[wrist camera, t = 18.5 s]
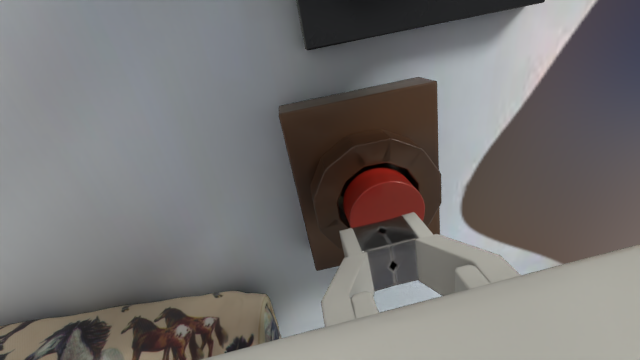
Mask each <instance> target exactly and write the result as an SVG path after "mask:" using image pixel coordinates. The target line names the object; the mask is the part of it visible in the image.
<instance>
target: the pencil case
mask: <svg viewBox="0 0 640 360" xmlns="http://www.w3.org/2000/svg"><path fill="white" fill-rule="evenodd" d="M277 339H281V334H280V332H279V327H278V323H277V320H276V317H275V314H274V311H273V308H272V304H271V301H270V298H269V297H268V295H266V294H258V293H248V294H247V293H243V292H239V291H226V292H220V293H211V294H207V295H202V296H192V297H181V298H175V299H169V300H165V301H159V302H152V303H143V304H132V305H124V306H118V307H112V308H108V309H103V310H98V311H94V312H88V313H82V314H78V315H73V316H66V317H56V318H45V319H38V320H32V321H25V322H20V323H15V324H9V325H5V326H0V360H201V359H205V358H209V357H212V356H216V355H220V354H224V353H228V352H231V351H235V350H239V349H243V348H247V347H250V346H254V345H258V344H262V343H266V342H270V341H273V340H277Z"/></svg>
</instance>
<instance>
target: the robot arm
mask: <svg viewBox="0 0 640 360" xmlns="http://www.w3.org/2000/svg"><path fill="white" fill-rule="evenodd" d="M340 238H341V242H342V247H343V251H344V256H345V258H344V259H343V261H342V263H341V264H340V266H339V268H338V270H337V272H336V274H335V276H334V278H333V280H332V282H331V283H330V285H329V287H328V289H327V291H326V293H325V295H324V297H323V299H322V300H321V306H322V312H323V318H324V324H325V327H323V328H319V329H315V330H312V331H308V332H304V333H300V334H296V335H292V336H289V337H285V338H281V339H277V340H273V341H270V342H266V343H262V344H258V345H254V346H250V347H247V348H243V349H239V350H235V351H231V352H228V353H224V354H220V355H216V356H212V357H209V358H205V359H201V360H640V244H639V245H635V246H631V247H628V248H624V249H620V250H616V251H612V252H609V253H605V254H601V255H597V256H593V257H590V258H586V259H582V260H578V261H574V262H571V263H567V264H563V265H559V266H555V267H552V268H548V269H544V270H540V271H536V272H532V273H529V274H525V275H520V274H519V273H518V272H517V271H516V270H515V269H514V268H513V267H512V266H511V265H510V264H509V263H508V262H507V261H505V260H504V259H503V258H502V257H501V256H500V255H497V254H494V253H492V252H489V251H486V250H483V249H480V248H477V247H474V246H471V245H468V244H465V243H462V242H460V241H457V240H454V239H451V238H448V237H445V236H442V235H439V234H434V235H433V233H432V232H431V231H430V230H429V229H428V227H427V226H426V225H425V224H424V223H423V221H422V220H421V219H420V218H419V217H418V215H417V214H416V213H414V212H412V213H408V214H405V215H401V216H399V217H395V218H391V219H387V220H384V221H380V222H375V223H370V224H366V225H362V226H358V227H353V228H349V229H345V230H341V231H340ZM416 280H419V281H420V282H422V283H423V284H425V285H426V286H428V287H429V288H431V289H433V290H434V291H436V292H437V293H439V294H440V295H442V296H441V297H437V298H434V299H430V300H426V301H422V302H418V303H414V304H411V305H407V306H403V307H399V308H395V309H392V310H388V311H384V312H380V313H379V311H378V309H377V306H376V304H375V301H374V299H373V296H374V291H377V290H381V289H384V288H388V287H391V286H394V285H398V284H403V283H407V282H411V281H416Z"/></svg>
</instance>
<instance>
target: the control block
mask: <svg viewBox="0 0 640 360" xmlns="http://www.w3.org/2000/svg"><path fill="white" fill-rule="evenodd" d="M279 119H280V123H281V127H282V131H283V135H284V139H285V144H286V148H287V152H288V156H289V160H290V164H291V168H292V173H293V177H294V181H295V185H296V189H297V193H298V197H299V202H300V206H301V210H302V214H303V218H304V222H305V226H306V231H307V235H308V239H309V243H310V247H311V251H312V255H313V260H314V264H315V268H316V270H317V271H318V270H323V269H327V268H332V267H336V266H340V264H341V263H342V261H343V259H344V258H345V256H344V251H343V247H342V242H341V238H340V231H341V230H345V229H349V228H350V225H349V223H348V220H347V217H346V214H345V212H344V208H343V198H344V194H345V191H346V189H347V187H348V185H349V184H350V183H351V181H352V180H353V179H354V178H355V177H356V176H358V175H359V174H361V173H362V172H364V171H367V170H369V169H373V168H378V167H385V168H391V169H394V170H397V171H398V172H400V173H401V174H403V175H404V176H405V177H406V178H407V179H408V181H409V182H410V183H411V184H412V185H413V186H414V187H415V188H416V189H417V190H418V191H419V193H420V194H421V196H422V198H423V200H424V204H425V214H424V219H423V223H424V224H425V225H426V226H427V227H428V229H429V230H430V231H431V232H432V233H433V235H434V234H439V235H440V221H439V206H440V204H441V174H440V171H439V166H438V112H437V82H436V81H433V80H429V79H425V78H421V77H416V78H411V79H407V80H402V81H397V82H392V83H387V84H383V85H378V86H373V87H368V88H363V89H358V90H354V91H349V92H344V93H339V94H334V95H329V96H325V97H320V98H315V99H310V100H305V101H300V102H296V103H291V104H286V105H281V106H279Z"/></svg>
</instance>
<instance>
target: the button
mask: <svg viewBox="0 0 640 360" xmlns="http://www.w3.org/2000/svg"><path fill="white" fill-rule="evenodd" d="M343 208H344V212H345V214H346V217H347V220H348V223H349V225H350V228H353V227H358V226H362V225H366V224H370V223H375V222H380V221H384V220H387V219H391V218H395V217H399V216H401V215H405V214H408V213H412V212H414V213H416V214H417V215H418V217H419V218H420V219H421V220H422V221H423V219H424V214H425V204H424V200H423V198H422V196H421V194H420V193H419V191H418V190H417V189H416V188H415V187H414V186H413V185H412V184H411V183H410V182H409V181H408V179H407V178H406V177H405V176H404V175H403V174H401V173H400V172H398V171H397V170H394V169H391V168H385V167H378V168H373V169H369V170H367V171H364V172H362V173H361V174H359V175H358V176H356V177H355V178H354V179H353V180H352V181H351V183H350V184H349V185H348V187H347V189H346V191H345V194H344V198H343Z"/></svg>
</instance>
